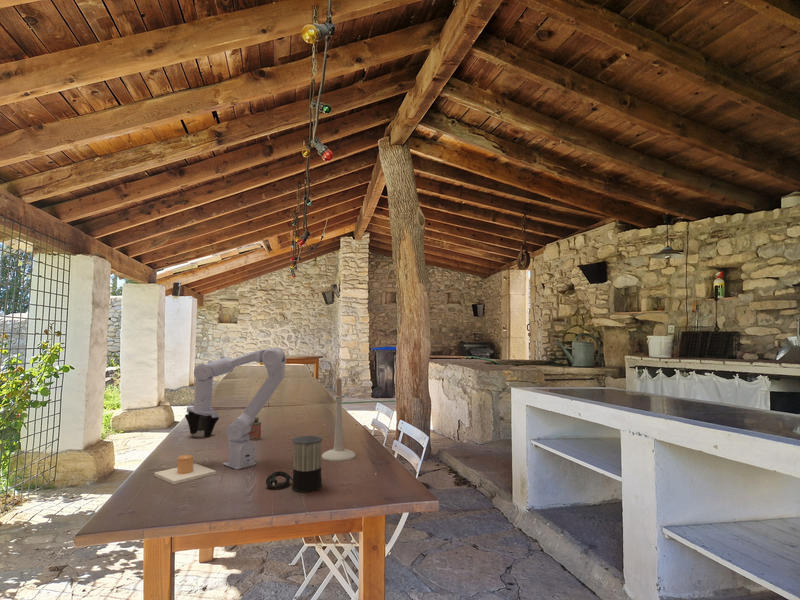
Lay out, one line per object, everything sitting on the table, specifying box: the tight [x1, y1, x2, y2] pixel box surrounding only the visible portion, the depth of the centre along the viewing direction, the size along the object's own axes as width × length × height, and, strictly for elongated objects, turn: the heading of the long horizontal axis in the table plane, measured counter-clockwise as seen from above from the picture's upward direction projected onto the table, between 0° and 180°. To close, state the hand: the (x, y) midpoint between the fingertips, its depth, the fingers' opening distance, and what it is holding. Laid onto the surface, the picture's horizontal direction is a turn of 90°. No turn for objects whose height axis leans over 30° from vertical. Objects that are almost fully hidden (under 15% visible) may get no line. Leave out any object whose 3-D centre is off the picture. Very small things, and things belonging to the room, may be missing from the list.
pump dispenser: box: [191, 415, 207, 439], centre depth 216 cm, size 10×10×15 cm
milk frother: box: [265, 435, 323, 493], centre depth 147 cm, size 14×16×15 cm
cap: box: [176, 454, 195, 474], centre depth 159 cm, size 5×5×5 cm
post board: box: [153, 463, 217, 485], centre depth 159 cm, size 14×14×5 cm
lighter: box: [248, 416, 262, 441], centre depth 209 cm, size 8×3×10 cm, turn 84°
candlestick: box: [321, 377, 357, 462], centre depth 182 cm, size 13×13×30 cm
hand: (200, 435), depth 171 cm, fingers open, 7 cm apart
